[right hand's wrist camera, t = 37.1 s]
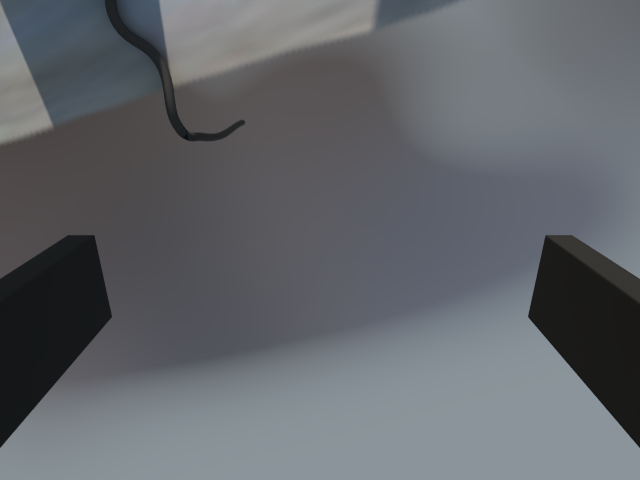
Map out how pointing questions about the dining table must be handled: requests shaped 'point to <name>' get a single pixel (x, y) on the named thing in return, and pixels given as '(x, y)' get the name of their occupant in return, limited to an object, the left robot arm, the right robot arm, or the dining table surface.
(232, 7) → the dining table surface
